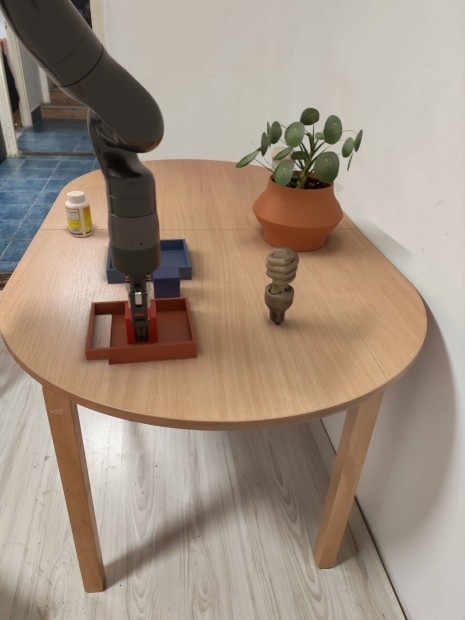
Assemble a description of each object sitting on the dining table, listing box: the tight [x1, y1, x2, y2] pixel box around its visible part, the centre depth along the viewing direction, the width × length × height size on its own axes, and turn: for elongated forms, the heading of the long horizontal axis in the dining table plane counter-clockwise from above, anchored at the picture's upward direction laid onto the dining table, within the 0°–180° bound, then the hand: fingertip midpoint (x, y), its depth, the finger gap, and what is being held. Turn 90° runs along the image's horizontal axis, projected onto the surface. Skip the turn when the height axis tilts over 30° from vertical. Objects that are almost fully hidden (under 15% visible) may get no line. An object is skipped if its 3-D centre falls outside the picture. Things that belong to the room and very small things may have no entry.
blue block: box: [152, 265, 181, 299], centre depth 89 cm, size 5×5×5 cm
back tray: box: [105, 238, 193, 285], centre depth 99 cm, size 17×14×3 cm
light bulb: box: [263, 246, 300, 325], centre depth 79 cm, size 6×6×15 cm
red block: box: [125, 301, 158, 343], centre depth 76 cm, size 5×5×5 cm
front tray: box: [84, 296, 198, 365], centre depth 77 cm, size 17×14×3 cm
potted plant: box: [235, 107, 364, 252], centre depth 107 cm, size 23×28×30 cm
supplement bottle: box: [64, 190, 94, 238], centre depth 110 cm, size 6×6×10 cm
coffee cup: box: [270, 146, 297, 175], centre depth 148 cm, size 8×8×12 cm
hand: (141, 325), depth 77 cm, fingers open, 8 cm apart
